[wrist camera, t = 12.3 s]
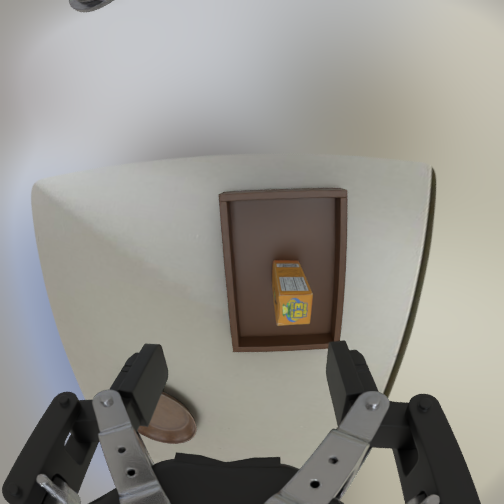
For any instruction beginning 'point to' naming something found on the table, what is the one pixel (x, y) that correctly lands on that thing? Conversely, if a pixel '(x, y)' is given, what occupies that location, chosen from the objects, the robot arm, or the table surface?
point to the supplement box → (291, 293)
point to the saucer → (170, 422)
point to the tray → (283, 248)
